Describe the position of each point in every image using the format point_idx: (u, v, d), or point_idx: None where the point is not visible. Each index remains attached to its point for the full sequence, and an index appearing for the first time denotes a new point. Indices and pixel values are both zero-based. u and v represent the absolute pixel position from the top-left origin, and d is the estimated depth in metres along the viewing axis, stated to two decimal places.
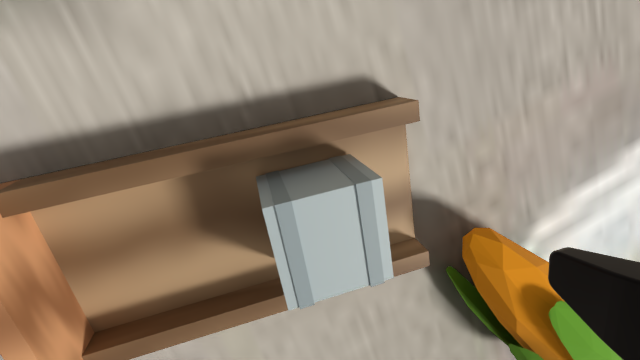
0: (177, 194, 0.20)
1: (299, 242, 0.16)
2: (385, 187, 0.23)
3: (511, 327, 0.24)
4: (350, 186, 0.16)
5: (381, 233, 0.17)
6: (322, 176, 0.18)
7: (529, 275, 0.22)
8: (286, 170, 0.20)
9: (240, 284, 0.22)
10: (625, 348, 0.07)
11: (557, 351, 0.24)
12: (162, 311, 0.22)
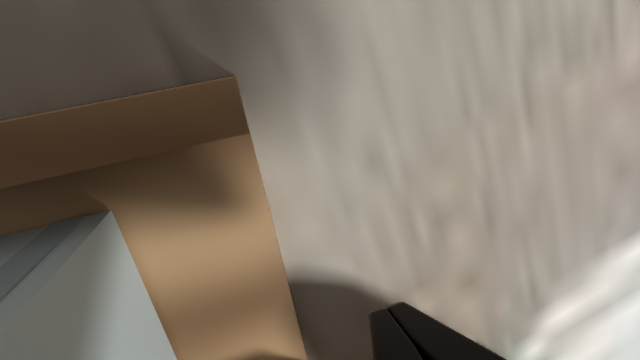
0: None
1: None
2: (225, 275, 0.10)
3: None
4: None
5: None
6: None
7: None
8: None
9: None
10: None
11: None
12: None
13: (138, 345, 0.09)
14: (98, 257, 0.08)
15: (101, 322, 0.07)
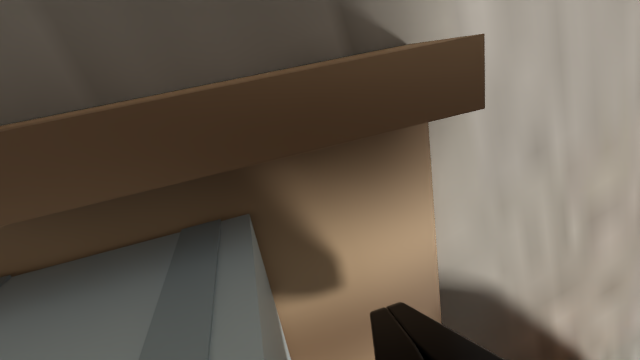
0: None
1: None
2: (375, 285, 0.09)
3: None
4: None
5: None
6: (60, 353, 0.04)
7: None
8: (27, 280, 0.06)
9: None
10: None
11: None
12: None
13: None
14: (260, 275, 0.06)
15: None
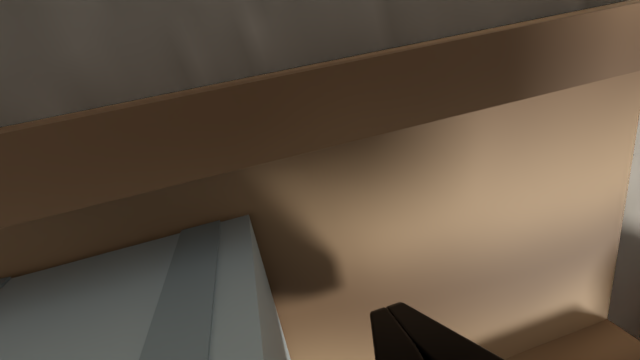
0: (60, 262, 0.07)
1: None
2: (575, 220, 0.10)
3: None
4: None
5: None
6: (60, 355, 0.04)
7: None
8: (26, 282, 0.06)
9: None
10: None
11: None
12: None
13: None
14: (260, 276, 0.06)
15: None
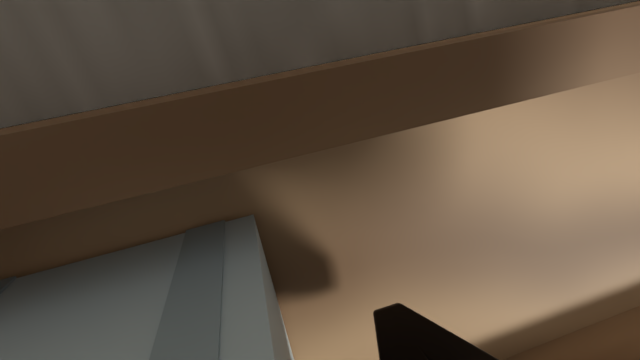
0: (307, 197, 0.08)
1: None
2: None
3: None
4: None
5: None
6: (70, 354, 0.04)
7: None
8: (32, 281, 0.06)
9: None
10: None
11: None
12: None
13: None
14: (266, 275, 0.06)
15: None
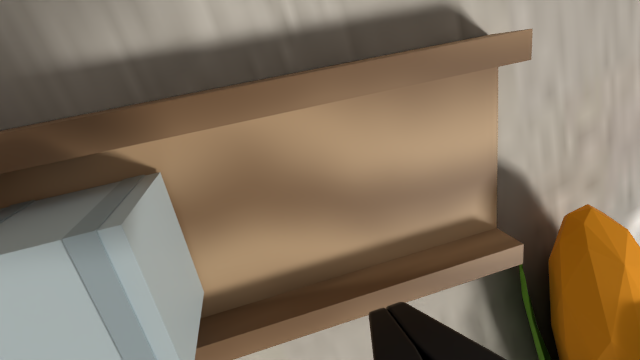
0: (191, 164, 0.14)
1: None
2: (466, 160, 0.17)
3: (589, 354, 0.18)
4: (54, 242, 0.09)
5: (145, 319, 0.10)
6: (59, 215, 0.11)
7: None
8: (43, 201, 0.12)
9: (274, 289, 0.17)
10: None
11: None
12: None
13: (179, 258, 0.13)
14: (157, 197, 0.12)
15: (161, 234, 0.12)
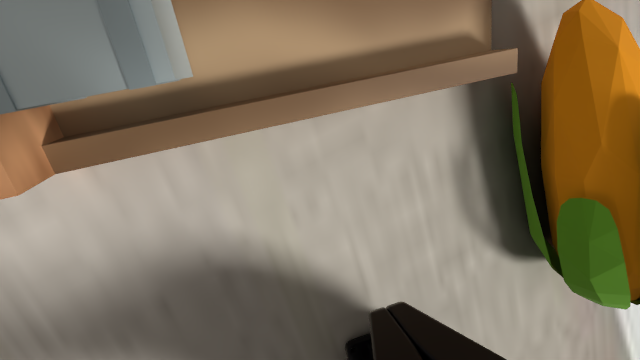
0: None
1: None
2: None
3: (579, 172, 0.18)
4: None
5: None
6: None
7: None
8: None
9: (265, 88, 0.16)
10: None
11: (627, 221, 0.18)
12: (158, 116, 0.16)
13: (166, 1, 0.13)
14: None
15: None
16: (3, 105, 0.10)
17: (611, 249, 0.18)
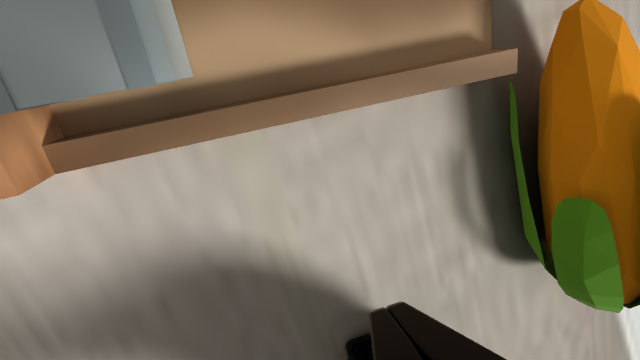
0: None
1: None
2: None
3: (575, 171, 0.18)
4: None
5: None
6: None
7: None
8: None
9: (265, 87, 0.16)
10: None
11: (622, 222, 0.18)
12: (158, 116, 0.16)
13: (166, 1, 0.13)
14: None
15: None
16: (3, 105, 0.10)
17: (605, 250, 0.18)
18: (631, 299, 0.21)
